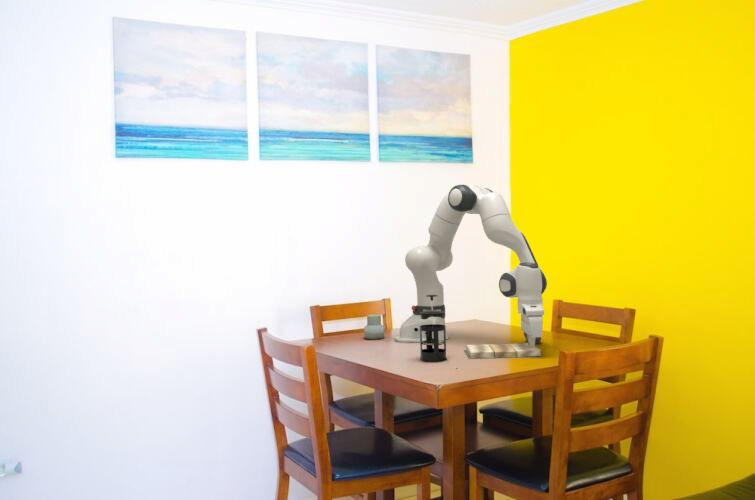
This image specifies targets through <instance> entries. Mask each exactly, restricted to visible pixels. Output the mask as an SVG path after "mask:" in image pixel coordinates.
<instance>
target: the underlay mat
mask: <svg viewBox="0 0 755 500" xmlns="http://www.w3.org/2000/svg"><path fill="white" fill-rule="evenodd" d="M463 351H464V354H465V355H466V357H467V359H468V360H486V359H487V360H488V359H489V360H490V359H496V360H497V358H495V357H494V358H471V357H470V356H469V354H468V352H467V351H466V349H463ZM528 358H529V359H530V358H544V355H542V354H541V356H530V357H509V358H508V359H528Z"/></svg>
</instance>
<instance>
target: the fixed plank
mask: <svg viewBox="0 0 755 500" xmlns="http://www.w3.org/2000/svg"><path fill="white" fill-rule="evenodd" d="M488 345H489V346H490V348H491V349H492V350H493V351H494V357H495V358H496V359H510V358H509V357H517V355H516V351H515V350H514V349H513V348H512V347H511V346H510V343H501V344H500V343H497V344H496V343H493V344H492V343H491V344H488Z"/></svg>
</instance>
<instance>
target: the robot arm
mask: <svg viewBox="0 0 755 500" xmlns="http://www.w3.org/2000/svg"><path fill="white" fill-rule="evenodd" d="M466 214H468V215H479V217H480V220H481V224H482V227H483V231H484V232H483V233H485V234H484V235H485V236H486V237H487V239H488V240H489V241H491V242H492V243H493V244H494V243H495V244H497V245H501V246H504V247H506V248H509V249H510V250H512V251H513V252H514V253H515V254H516V256H517V259H518V261H519V263H518V264H517V266H516V267H515V268H513V269H512V270H509V271H507V272H503V273H502V274H501V276H500V277H499V282H498V288H499V292H500V293H501V294H502V295H503V296H504V297H506V298H510V299H511V298H517V314H520V328H521V329H520V330H521V331H522V332H523V333H524V332H525V333H527V339H528V341H527V343H528V346H530V347H535V346H536V344H535V339H536V337H541V338H542V336H543V323H544V319H543V318H544V317H543V316H545V310H544V309H545V308H544V302H543V294H544V292H545V291H546V289H547V287H548V286H547V285H548V281H547V277H546V275H545V274H544V272H543V271H542V269H541V267H540V266H539V263H538V262H537V260H536V256H535V255H534V253H533V250H532V249H531V246H530V244H529V242H528V239H527V238H526V237H525V235H524V234H523V232H522V231H520V230H519V229H518V228H517V226H516V225H515V223H514V221H513V219H512V216H511V213H510V210H509V208H508V206H507V203H506V201H505V199H504V197H503V196H502V194H500V193H498V192H495V191H493V190H491V189H490V188H486V187H485V188H484V187H482V186H478V185H466V184H456V185H454V186H452V188H451V189H450V190H449V192H448V193H446V194H445V195H444V197H443V198H442V200H441V201H440V203H439V204H438V206H437V208H436V211H435V213H434V215H433V218H432V219H431V222H430V223H429V227H428V234H429V241H428V244H427V245H421V246H416V247H413V248H412V249H409V250H408V251H407V253H406V255H405V258H404V259H405V260H404V262H405V265H406V267H407V268H408V270H409V271H410V272H411V274H412V276H413V279H414V282H415V286H416V297H417V299H416V301H417V305H412V306H411V310H412V315H411V316H409V317H408V318H407V319H406V320H405V321H403V322H402V324H401V325H400V329H399V334H396V335H395V336H394V341H396V342H398V343H403V342H404V343H420V326H421V325H427V324H432V317H429V318H428V319H421V314H420V312H423V311H430V310H432V303H433V310H437V311H444V312H445V313H444V318H441V317H433V324H440V325H445V332H446V340H448V339H449V338H450V337H449V334H448V332H447V331H448V330H447V326H446V306H445V303H444V302H445V299H444V297H445V295H444V285H443V284H442V282H441V281H440V280H439V278H438V274H437V272H441V271H443V270H445V269H447V268H448V267H450V266H451V265H452V263H453V258H454V257H453V253H452V246H453V241H454V239H455V236H456V233H457V232H458V229H459V227H460V224H461V222H462V221H463V218H464V216H465V215H466ZM427 295H437V296H436V297H433V301H432V303H431V298H430V297H426V296H427ZM433 338H434V337H433ZM425 340H426V331H422V341H425ZM438 340H443V341H444V331H438Z"/></svg>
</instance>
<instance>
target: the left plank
mask: <svg viewBox="0 0 755 500" xmlns="http://www.w3.org/2000/svg"><path fill="white" fill-rule="evenodd" d="M465 345H466V346H465V350H466V351H467V352H468V354H469V356H470V357H471V358H494V351H493V350H492V349H491V348H490V346H489V344H465Z"/></svg>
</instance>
